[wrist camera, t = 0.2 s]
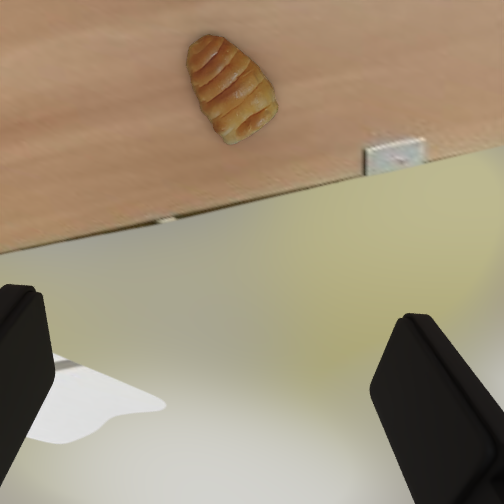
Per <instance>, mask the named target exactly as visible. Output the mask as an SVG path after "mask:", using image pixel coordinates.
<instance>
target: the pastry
mask: <svg viewBox="0 0 504 504" xmlns="http://www.w3.org/2000/svg"><path fill="white" fill-rule="evenodd" d="M186 66H187V69H188V72H189V74H190V77H191V83H192V87H193V90H194V92H195V94H196V96H197V98H198V99H199V102H200V109H201V112H202V113H203V114H205V115H206V116H207V117H208V119H209V120H210V122H211V123H212V124H213V128H214V130H215V132H217V133H218V134H219V135H220V136H221V137H222V138H223V141H224V142H225V143H226V144H229V145H231V144H236V143H238V142H239V141H241V140H243V139H245V138H246V137H248V136H250V135H252V134H253V133H255V132H257V131H258V130H260V129H261V128H262V127H263V125H264V124H266V123H268V122H269V121H270V120H271V119H272V118H273V117H274V116H275V114H276V113H277V111H278V104H277V102H276V99H275V94H274V89H273V87H272V85H271V83H270V82H269V81H268V80H267V79H266V78H265V76H264V74H263V73H262V72H261V70H260V68H259V67H258V65H257V64H255V63H254V62H253V61H252V60H251V59H250V58H249V57H247V56H246V55H244V54H243V53H242V52H241V51H240V50H239V49H237V47H236V46H234V45H233V44H231V43H230V42H229V41H227V40H226V39H225V38H224V37H218V36H213V35H205V36H203V37H201V38H200V39H199V40H197V41H196V42H195V43H193V44H192V45H191V46H190V47H189V50H188V56H187V62H186Z"/></svg>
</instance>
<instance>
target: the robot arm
mask: <svg viewBox="0 0 504 504" xmlns="http://www.w3.org/2000/svg"><path fill="white" fill-rule="evenodd" d="M54 378H55V365H54V359H53V353H52V347H51V341H50V335H49V329H48V323H47V318H46V312H45V306H44V301H43V295H42V294H41V293H39V292H36V290H35V288H34V287H33V286H27V285H26V286H25V285H12V284H6V285H4V286H3V287H2V288H1V289H0V486H1V484H2V482H3V480H4V478H5V476H6V474H7V473H8V471H9V468H10V467H11V465H12V462H13V461H14V459H15V457H16V455H17V453H18V451H19V449H20V447H21V445H22V443H23V441H24V439H25V437H26V435H27V433H28V431H29V429H30V427H31V426H32V424H33V422H34V420H35V418H36V416H37V414H38V412H39V410H40V408H41V406H42V404H43V402H44V400H45V398H46V396H47V394H48V392H49V390H50V388H51V386H52V384H53V382H54ZM370 396H371V399H372V401H373V404H374V406H375V409H376V411H377V413H378V416H379V418H380V421H381V423H382V426H383V428H384V430H385V433H386V435H387V438H388V440H389V442H390V445H391V447H392V449H393V452H394V454H395V457H396V459H397V462H398V464H399V466H400V469H401V471H402V474H403V476H404V478H405V481H406V483H407V486H408V488H409V490H410V493H411V495H412V498H413V500H414V502H415V504H504V412H503V410H502V409H501V408H500V406H499V405H498V404H497V403H496V401H495V400H494V399H493V397H492V396H491V395H490V393H489V392H488V391H487V389H486V388H485V387H484V386H483V384H482V383H481V382H480V380H479V379H478V378H477V377H476V375H475V374H474V372H473V371H472V370H471V369H470V367H469V366H468V365H467V363H466V362H465V361H464V359H463V358H462V357H461V355H460V354H459V353H458V351H457V350H456V349H455V347H454V346H453V345H452V344H451V342H450V341H449V340H448V338H447V337H446V336H445V334H444V333H443V332H442V331H441V329H440V328H439V327H438V325H437V324H436V323H435V321H434V320H433V319H432V318H431V317H430V316H429V315H427V314H414V313H407V314H405V315H404V316H403V318H399V319H398V320H397V322H396V324H395V327H394V329H393V332H392V334H391V336H390V339H389V341H388V343H387V346H386V348H385V350H384V353H383V355H382V358H381V360H380V362H379V365H378V367H377V369H376V372H375V374H374V377H373V379H372V382H371V384H370Z"/></svg>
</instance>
